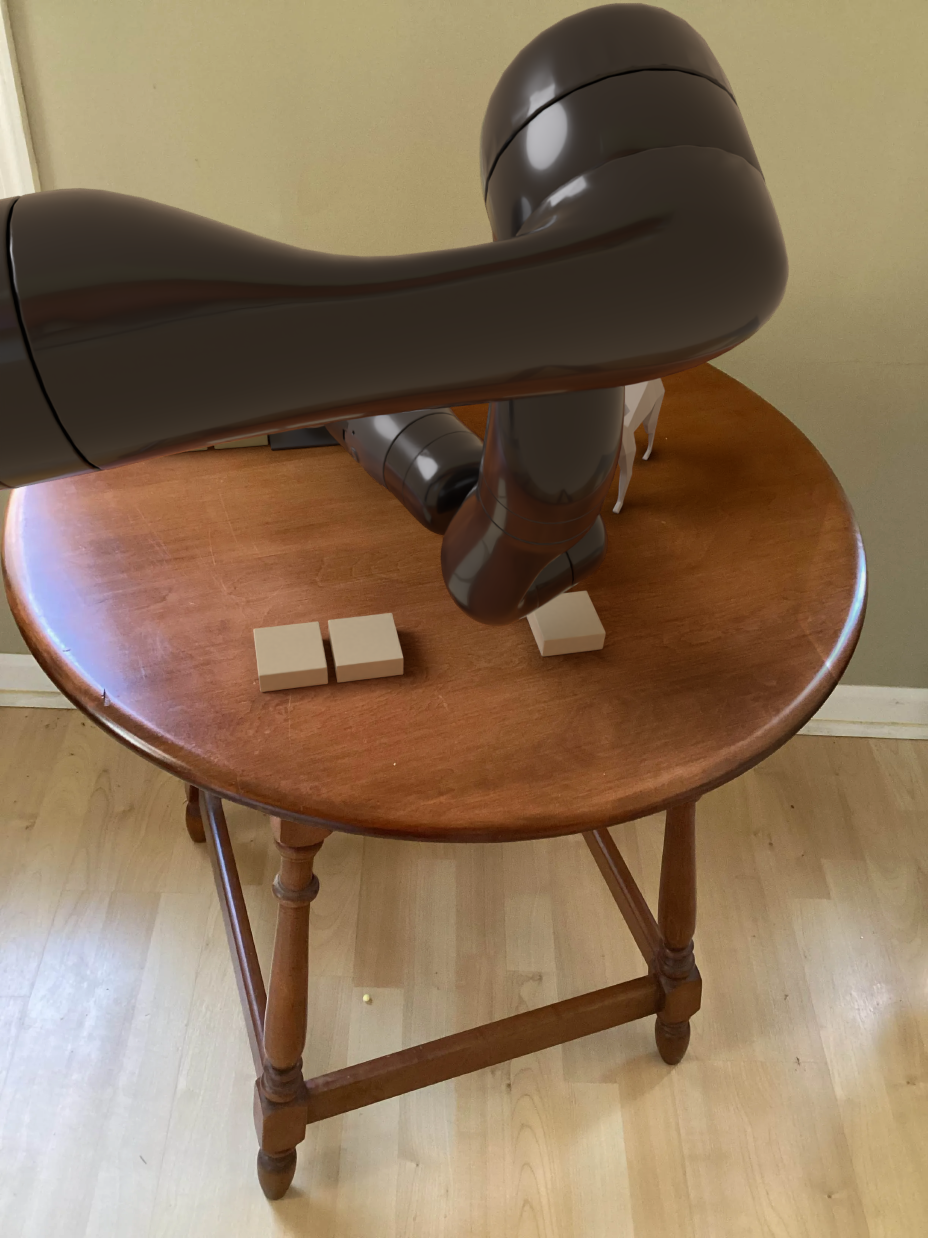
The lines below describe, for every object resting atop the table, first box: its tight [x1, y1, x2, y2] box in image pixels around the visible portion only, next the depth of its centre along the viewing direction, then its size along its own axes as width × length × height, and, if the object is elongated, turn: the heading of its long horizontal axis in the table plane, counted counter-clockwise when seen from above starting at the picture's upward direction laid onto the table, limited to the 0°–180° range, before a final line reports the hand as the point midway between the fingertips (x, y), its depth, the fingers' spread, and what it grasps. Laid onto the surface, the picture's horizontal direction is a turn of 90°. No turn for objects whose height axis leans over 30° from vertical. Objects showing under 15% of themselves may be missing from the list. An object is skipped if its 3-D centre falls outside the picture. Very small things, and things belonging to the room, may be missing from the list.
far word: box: [184, 426, 341, 453], centre depth 89 cm, size 21×6×2 cm, turn 103°
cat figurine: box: [612, 378, 666, 514], centre depth 83 cm, size 4×20×14 cm, turn 157°
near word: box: [252, 590, 606, 693], centre depth 71 cm, size 23×4×2 cm, turn 103°
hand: (292, 326), depth 86 cm, fingers closed on beverage can, 5 cm apart
